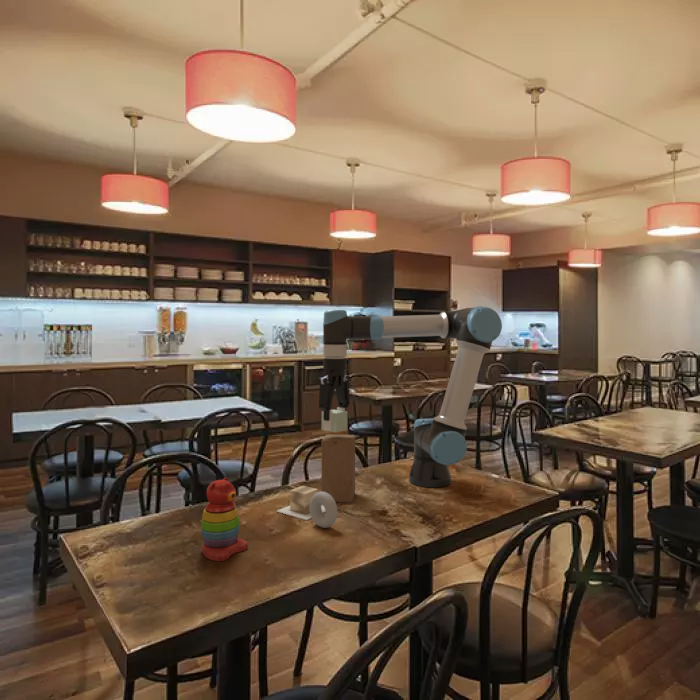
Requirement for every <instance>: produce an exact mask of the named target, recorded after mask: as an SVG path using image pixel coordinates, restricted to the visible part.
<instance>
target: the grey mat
mask: <svg viewBox="0 0 700 700" xmlns="http://www.w3.org/2000/svg"><path fill="white" fill-rule="evenodd" d="M321 509H322V512H323V514H324V513H326V512H325V507H324V506H323V504H322V505H321ZM278 512H279V514H282V513H283V515H285V514H286V515H287V516H289V517H292V516H293V518H296V519H299V520H303V521H306V520H307V521H309V520H311V519H312V517H311V514H310V512H308V513H306V514H303V513H300V512H296V511H292V510H290V504H289V505H287V506H285V507H282V508H281V509H280V508H279V509H277V510H276V513H278Z"/></svg>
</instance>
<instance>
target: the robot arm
mask: <svg viewBox="0 0 700 700" xmlns="http://www.w3.org/2000/svg"><path fill="white" fill-rule="evenodd" d="M322 326H323V327H322V329H323V331H322V333H323V335H322V336H323V340H322V341H323V357H325V358H323V360H322V362H323V363H322V369H323V370H324V371H325V374H324V376H323V377H318V382H319V393H318V394H319V396H318V397H319V398H318V409H320V410H321V411H322V412H323V411H324V430H326V431H325V432H330V431H332V410H333V409H332V405H333V404H332V403H333V398H334V393H335V395H336V400H337V403H338V404H337V405H338V407H336V410H341V411H346V408H349V406H350V403H351V402H350V401H351V400H350V378H351V375H349V374H345V371H346V370H347V358H346V357H347V356H348V354H347V351H348V350H347V349H348V345H347V343H348V341H347V340H372V341H374V340H381V339H382V338H384V339H385V338H411V337H413V338H414V337H440V338H441V339H454V340H455V343H456V345H457V347H458V348H457V351H456V352H457V353H456V356H455V360H454V363H453V366H452V368H451V369H452V370H451V374H450V377H449V379H448V383H447V387H446V390H445V394H444V396H443V400H442V404H441V407H440V411H439V413H438V415H436V416H435V417H433V418H431V417H430V418H418V419H416V420H414V427H413V462H412V465H411V468H410V471H409V475H408V477H409V478H408V481H409V482H410V483H411V484H412V485H415V486H418V487H423V488H424V487H425V488H441V487H442V488H443V487H447V486H449V485H451V484H452V474H451V472H450V469H449V466H451V465H455V464H457V463H459V462H460V461H462V460H463V458H464V457H465V455H466V453H467V450H468V445H467V441H466V438H465V437H466V434H467V430H468V427H467V426H466V424H465V420H466V417H467V413H468V410H469V406H470V402H471V400H472V396H473V393H474V389H475V385H476V383H477V379H478V375H479V371H480V368H481V365H482V361H483V357H484V355H485V354H486V353H488V352H490V350H491V348H492V344H493V341H496V339H498V338H499V336H500V334H501V333H502V329H503V322H502V319H501V316H500V315H499V314H498V312H496V310H494V309H493V308H491V307H487V306H480V305H479V306H475V307H466V308H461V309H457V310H451V311H441V312H440V313H439V314H423V315H422V314H419V315H391V316H390V315H389V316H388V315H387V316H386V315H385V316H373V315H372V316H371V315H370V316H368V315H367V316H363V315H361V316H351V315H348V313H347V311H346V310H345V309H328V310H325V311H324V312H323V324H322Z"/></svg>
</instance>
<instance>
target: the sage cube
mask: <svg viewBox="0 0 700 700" xmlns="http://www.w3.org/2000/svg"><path fill="white" fill-rule="evenodd" d="M331 410H332V431H329V432H331V433H339V432H343V431H347V430H348V411H347V410H345V411H341V410H337V409H331ZM320 422H321V424H320V425H321V427H320V428H321V431H324V432H327V431H326V430H324V411H323V410H322V411H321V421H320Z"/></svg>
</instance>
